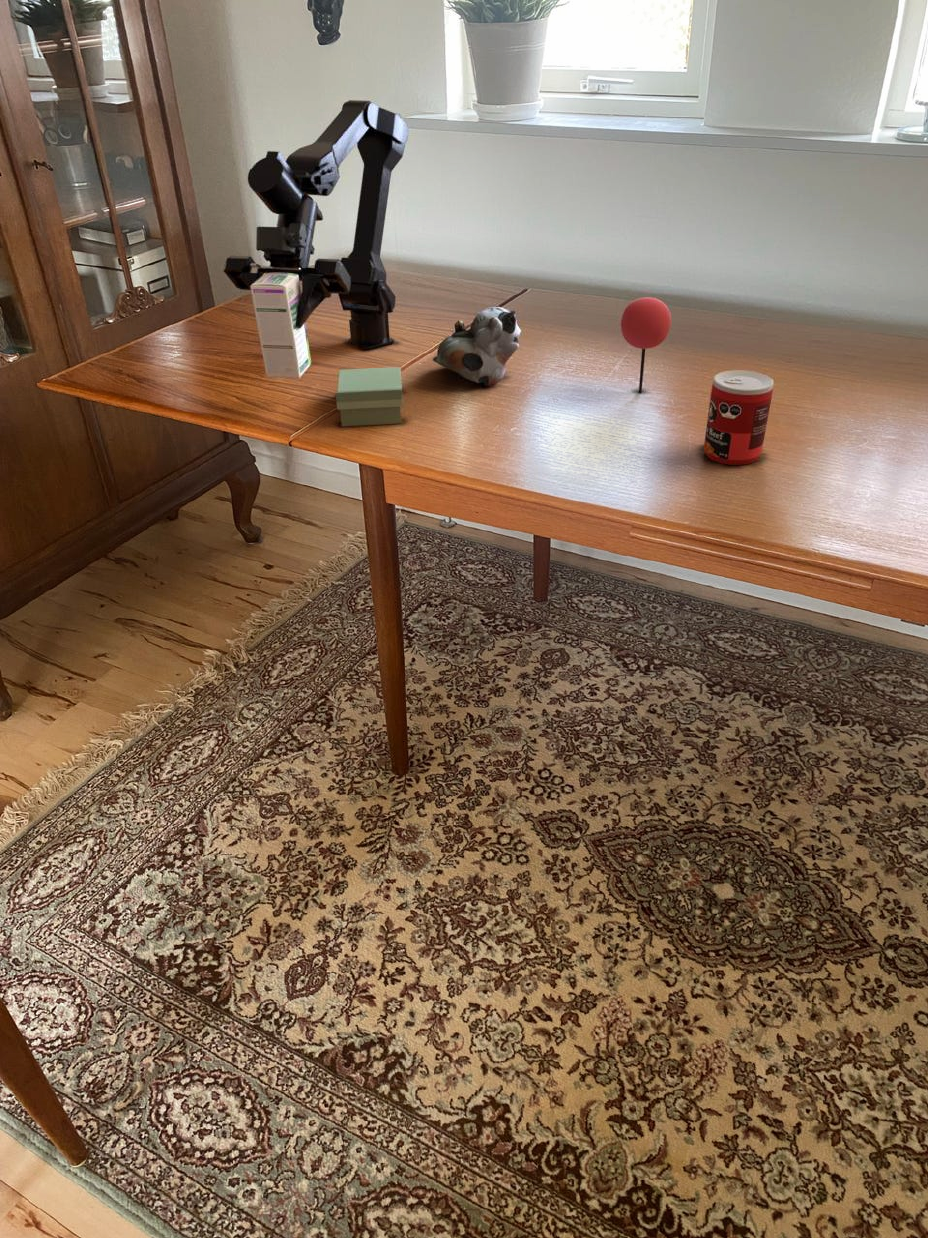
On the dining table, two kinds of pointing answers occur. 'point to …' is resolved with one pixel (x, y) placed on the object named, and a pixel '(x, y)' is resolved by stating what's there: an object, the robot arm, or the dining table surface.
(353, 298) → the robot arm
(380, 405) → the green lidded box
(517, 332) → the lucky cat figurine
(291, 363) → the syrup box
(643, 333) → the lollipop
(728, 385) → the canned food
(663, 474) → the dining table surface
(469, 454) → the dining table surface
